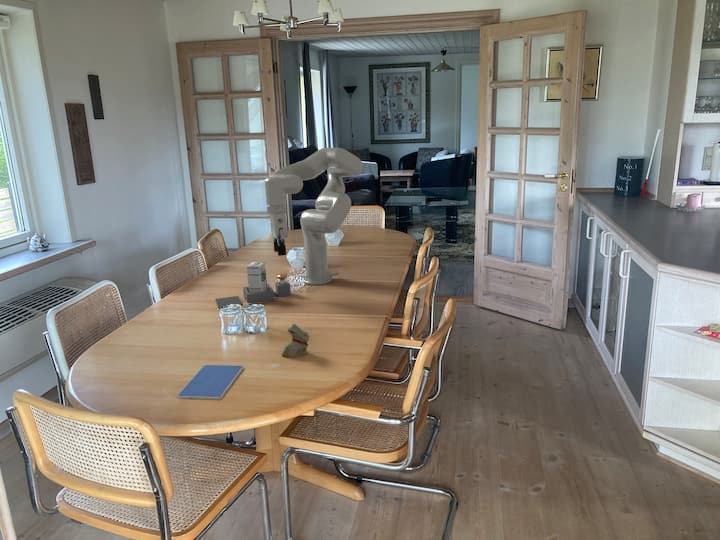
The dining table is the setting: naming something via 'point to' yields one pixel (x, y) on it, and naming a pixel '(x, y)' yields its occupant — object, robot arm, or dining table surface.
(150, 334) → the dining table surface
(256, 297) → the housing
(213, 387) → the tablet computer
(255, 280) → the syrup box
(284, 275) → the plunger
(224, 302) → the mat
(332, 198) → the robot arm
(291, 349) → the chocolate bunny
